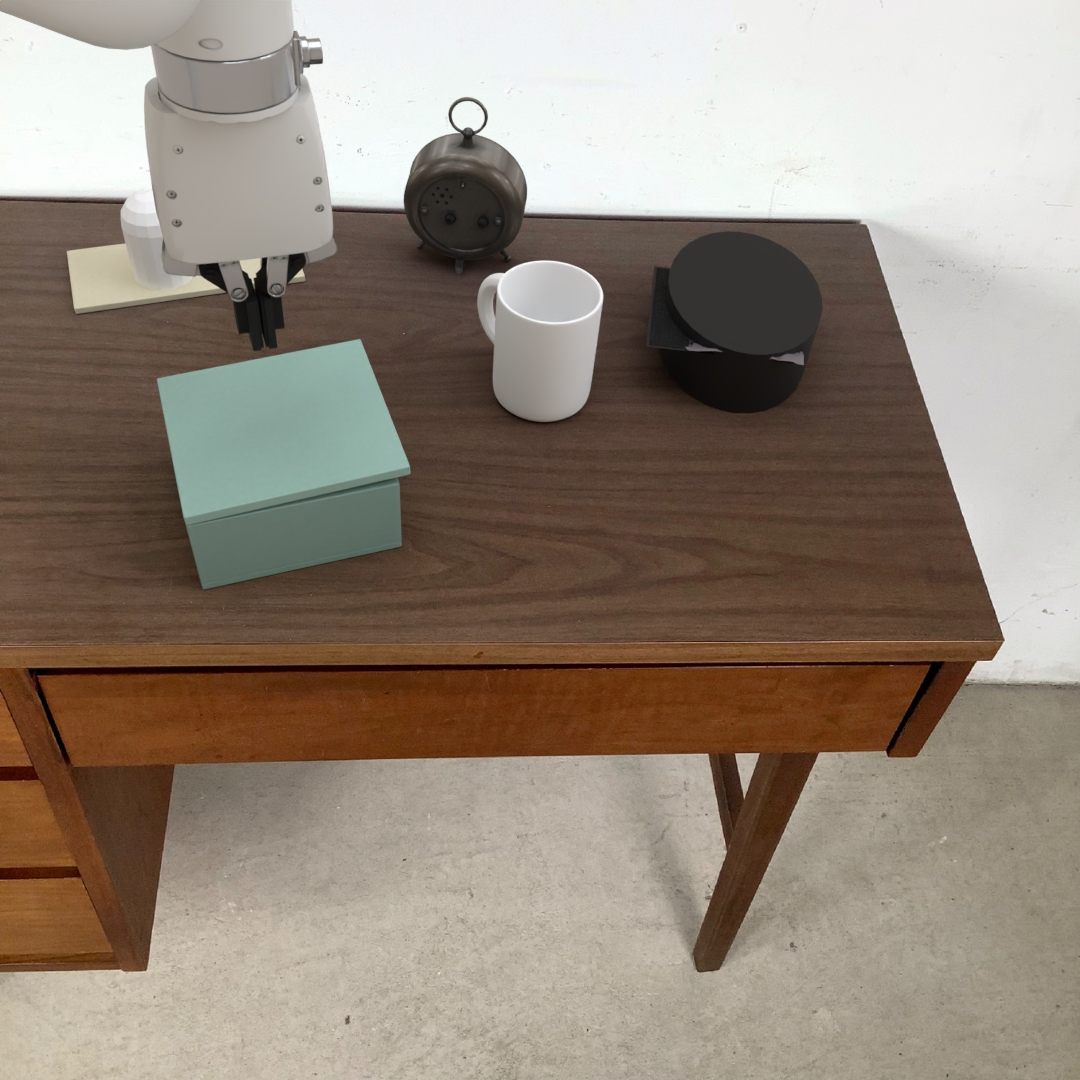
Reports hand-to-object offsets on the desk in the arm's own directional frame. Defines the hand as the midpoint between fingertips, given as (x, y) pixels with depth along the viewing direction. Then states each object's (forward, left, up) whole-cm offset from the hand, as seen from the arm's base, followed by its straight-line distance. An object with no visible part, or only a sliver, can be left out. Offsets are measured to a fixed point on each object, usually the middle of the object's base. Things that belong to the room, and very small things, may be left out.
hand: (261, 336), depth 72 cm
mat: (-3, +29, -13) cm, 32 cm away
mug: (+22, +6, -13) cm, 26 cm away
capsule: (-5, +28, -13) cm, 31 cm away
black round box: (+41, +6, -13) cm, 43 cm away
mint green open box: (0, -2, -13) cm, 13 cm away
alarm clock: (+22, +24, -14) cm, 35 cm away
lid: (0, -2, -6) cm, 7 cm away
